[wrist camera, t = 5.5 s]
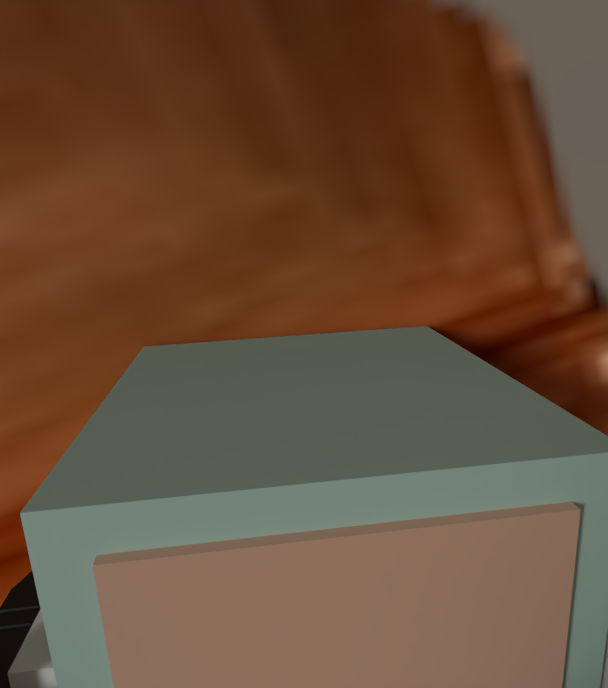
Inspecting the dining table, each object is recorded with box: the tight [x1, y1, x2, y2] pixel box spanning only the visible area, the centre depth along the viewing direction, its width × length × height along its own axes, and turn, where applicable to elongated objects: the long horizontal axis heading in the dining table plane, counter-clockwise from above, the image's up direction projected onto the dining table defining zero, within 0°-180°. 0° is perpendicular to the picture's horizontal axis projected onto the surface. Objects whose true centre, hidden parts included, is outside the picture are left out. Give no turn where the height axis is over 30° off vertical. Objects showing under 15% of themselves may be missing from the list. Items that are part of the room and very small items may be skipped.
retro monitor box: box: [20, 326, 608, 688], centre depth 11 cm, size 9×8×8 cm
